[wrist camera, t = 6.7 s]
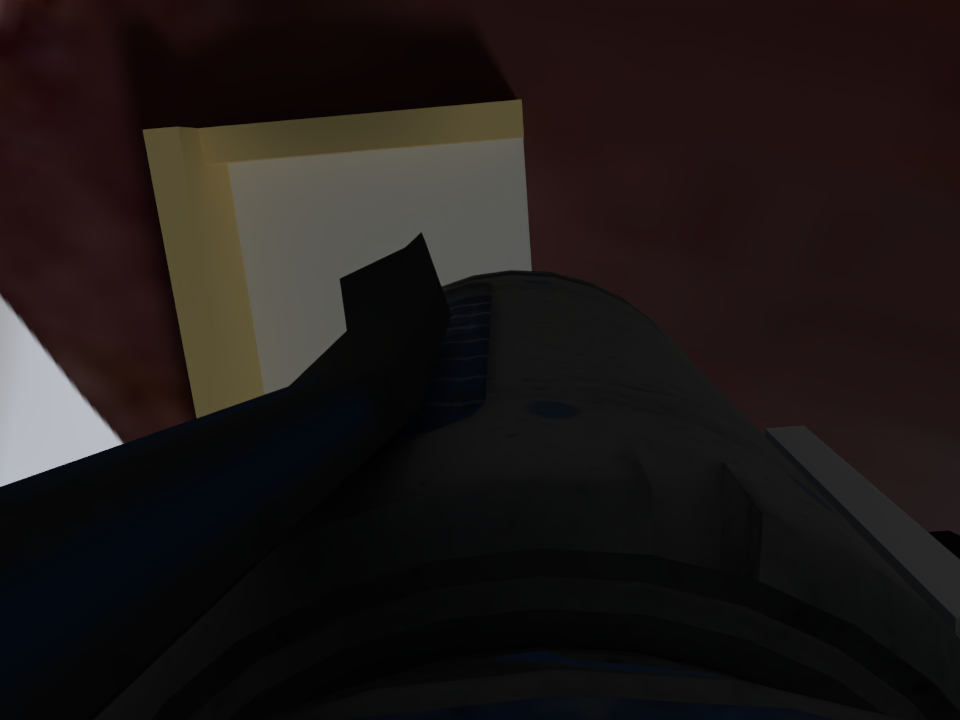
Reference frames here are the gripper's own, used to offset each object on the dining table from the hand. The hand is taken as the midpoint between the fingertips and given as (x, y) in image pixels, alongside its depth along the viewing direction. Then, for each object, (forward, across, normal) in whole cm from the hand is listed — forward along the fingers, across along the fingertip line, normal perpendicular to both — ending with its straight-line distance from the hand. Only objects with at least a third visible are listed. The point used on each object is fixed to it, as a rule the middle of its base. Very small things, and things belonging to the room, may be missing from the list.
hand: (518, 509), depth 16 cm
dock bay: (+23, -6, 0) cm, 24 cm away
